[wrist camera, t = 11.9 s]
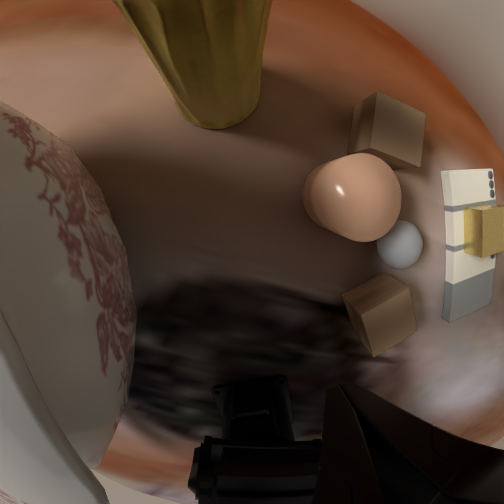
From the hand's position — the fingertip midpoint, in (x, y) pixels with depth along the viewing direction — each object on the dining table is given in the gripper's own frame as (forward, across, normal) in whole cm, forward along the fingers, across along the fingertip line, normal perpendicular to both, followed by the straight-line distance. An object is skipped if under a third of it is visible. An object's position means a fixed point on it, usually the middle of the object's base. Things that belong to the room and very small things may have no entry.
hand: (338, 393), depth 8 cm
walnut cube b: (+13, -9, -9) cm, 18 cm away
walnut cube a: (+13, -7, +4) cm, 15 cm away
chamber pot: (+13, +20, -4) cm, 24 cm away
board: (+13, -19, +1) cm, 23 cm away
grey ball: (+13, -9, -1) cm, 16 cm away
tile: (+12, -19, -1) cm, 22 cm away
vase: (+13, +2, -14) cm, 19 cm away
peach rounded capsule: (+13, -5, -5) cm, 15 cm away
